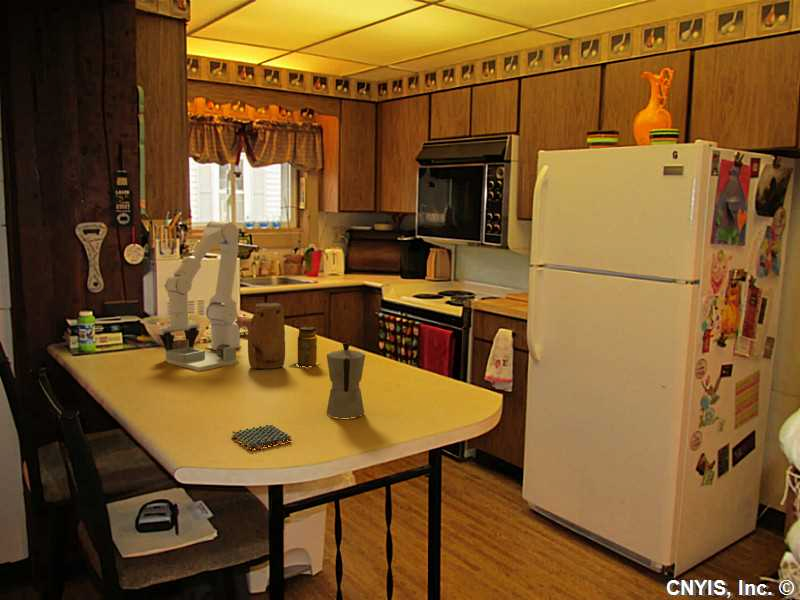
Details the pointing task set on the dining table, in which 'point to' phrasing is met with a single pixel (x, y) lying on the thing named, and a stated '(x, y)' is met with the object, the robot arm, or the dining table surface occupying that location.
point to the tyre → (221, 350)
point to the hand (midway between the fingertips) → (179, 353)
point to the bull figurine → (243, 321)
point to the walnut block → (180, 343)
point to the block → (267, 337)
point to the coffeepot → (345, 383)
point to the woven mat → (261, 437)
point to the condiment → (306, 347)
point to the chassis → (201, 358)
